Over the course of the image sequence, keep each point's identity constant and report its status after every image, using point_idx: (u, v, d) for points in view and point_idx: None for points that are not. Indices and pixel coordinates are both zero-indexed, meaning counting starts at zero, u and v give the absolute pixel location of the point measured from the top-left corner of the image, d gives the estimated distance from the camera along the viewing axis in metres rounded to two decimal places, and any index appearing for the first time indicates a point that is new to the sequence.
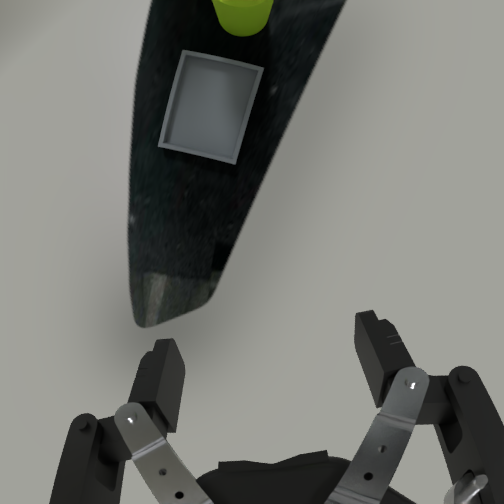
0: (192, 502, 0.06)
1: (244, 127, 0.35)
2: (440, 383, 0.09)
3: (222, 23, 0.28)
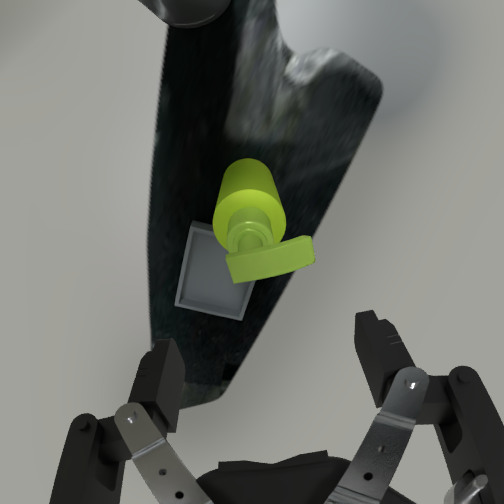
0: (192, 502, 0.06)
1: (249, 294, 0.42)
2: (440, 383, 0.09)
3: None
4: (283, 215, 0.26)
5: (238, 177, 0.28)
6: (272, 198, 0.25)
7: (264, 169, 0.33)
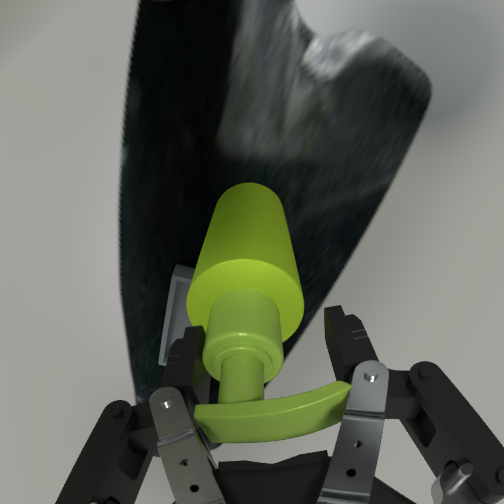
0: (205, 497, 0.06)
1: None
2: (402, 378, 0.10)
3: None
4: (300, 298, 0.15)
5: (230, 224, 0.18)
6: (283, 273, 0.15)
7: (272, 202, 0.23)
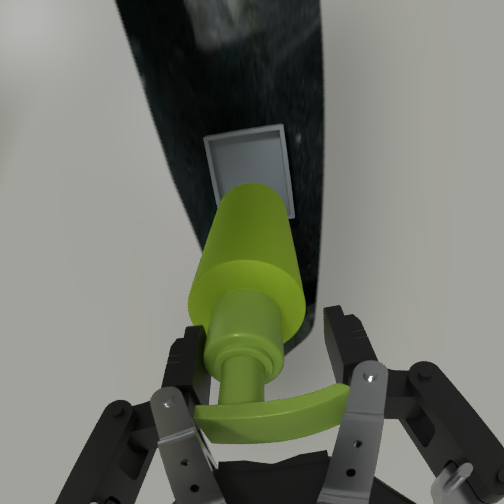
0: (205, 498, 0.06)
1: (289, 184, 0.39)
2: (401, 378, 0.10)
3: None
4: (302, 300, 0.15)
5: (233, 224, 0.18)
6: (285, 274, 0.15)
7: (275, 202, 0.23)
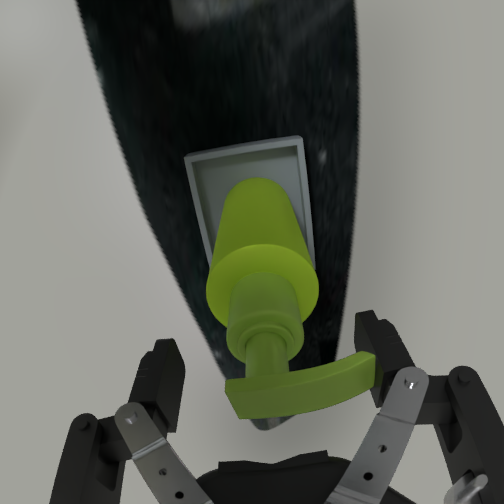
0: (192, 502, 0.06)
1: (310, 224, 0.27)
2: (440, 383, 0.09)
3: None
4: (316, 282, 0.16)
5: (246, 214, 0.19)
6: (300, 258, 0.16)
7: (281, 195, 0.24)
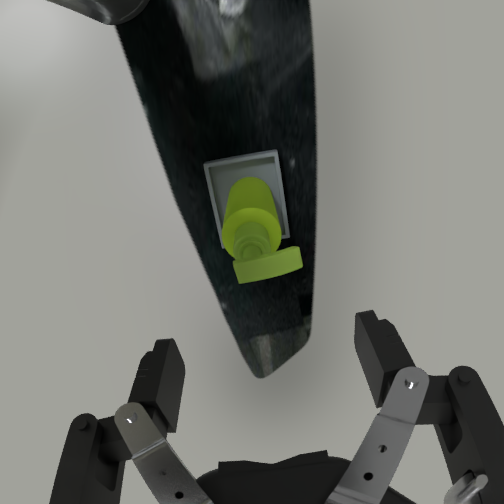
0: (192, 502, 0.06)
1: (284, 206, 0.42)
2: (440, 383, 0.09)
3: None
4: (279, 228, 0.31)
5: (242, 196, 0.34)
6: (270, 215, 0.31)
7: (264, 187, 0.39)
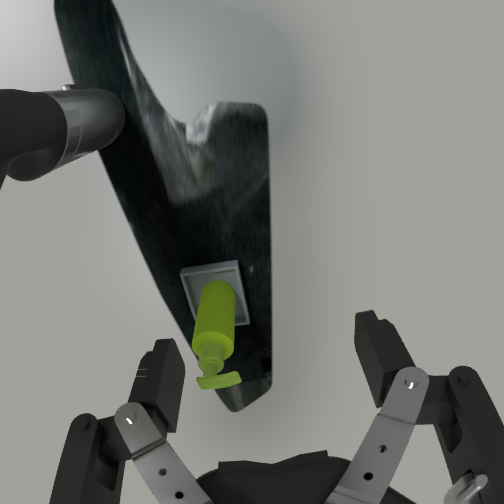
0: (192, 501, 0.06)
1: (244, 303, 0.54)
2: (440, 383, 0.09)
3: None
4: (231, 343, 0.43)
5: (207, 312, 0.46)
6: (224, 336, 0.43)
7: (227, 294, 0.51)
